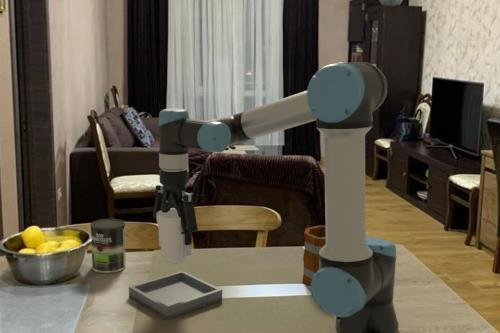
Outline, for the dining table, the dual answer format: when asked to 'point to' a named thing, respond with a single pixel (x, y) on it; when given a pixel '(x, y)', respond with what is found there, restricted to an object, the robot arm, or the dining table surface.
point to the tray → (175, 294)
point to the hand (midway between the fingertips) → (174, 250)
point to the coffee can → (108, 245)
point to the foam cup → (170, 236)
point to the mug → (312, 251)
